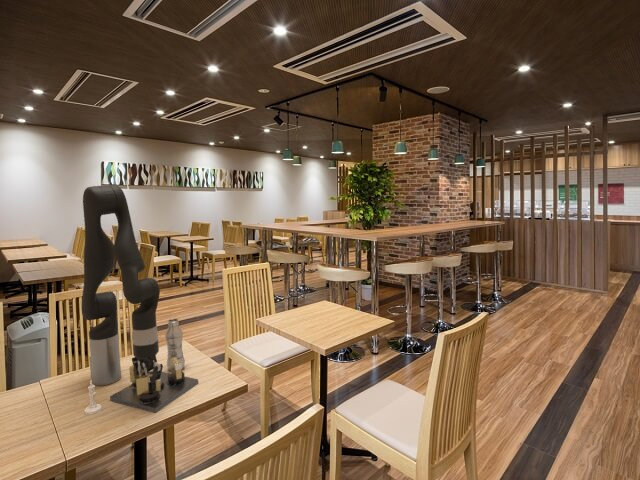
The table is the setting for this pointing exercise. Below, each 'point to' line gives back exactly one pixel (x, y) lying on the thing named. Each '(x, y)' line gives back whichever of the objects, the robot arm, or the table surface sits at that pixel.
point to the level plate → (164, 398)
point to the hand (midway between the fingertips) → (148, 389)
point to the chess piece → (92, 402)
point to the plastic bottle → (174, 342)
